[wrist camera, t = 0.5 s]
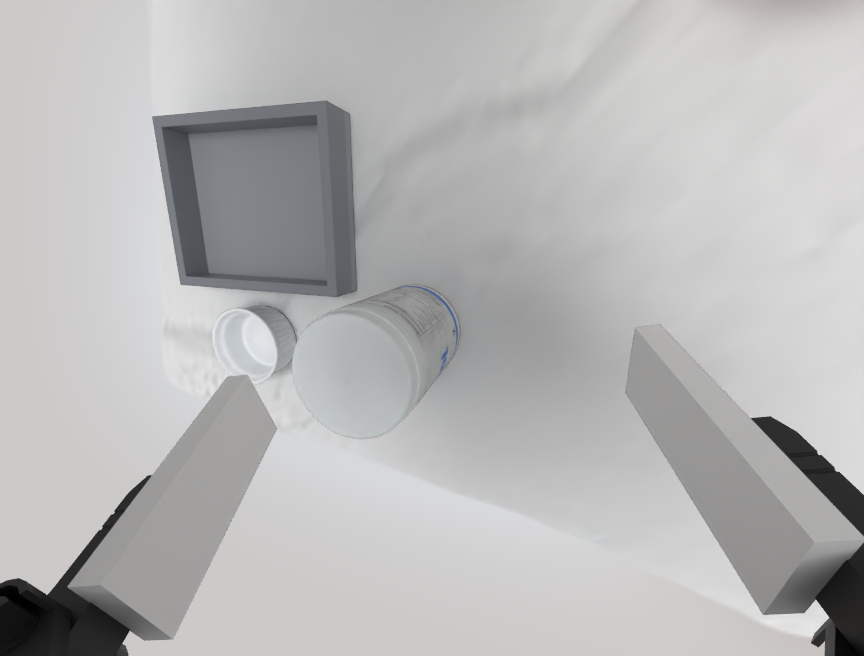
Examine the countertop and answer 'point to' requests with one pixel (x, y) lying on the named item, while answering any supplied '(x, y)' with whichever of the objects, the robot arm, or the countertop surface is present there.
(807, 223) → the countertop surface
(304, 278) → the tray
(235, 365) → the ramekin
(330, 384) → the supplement tub
